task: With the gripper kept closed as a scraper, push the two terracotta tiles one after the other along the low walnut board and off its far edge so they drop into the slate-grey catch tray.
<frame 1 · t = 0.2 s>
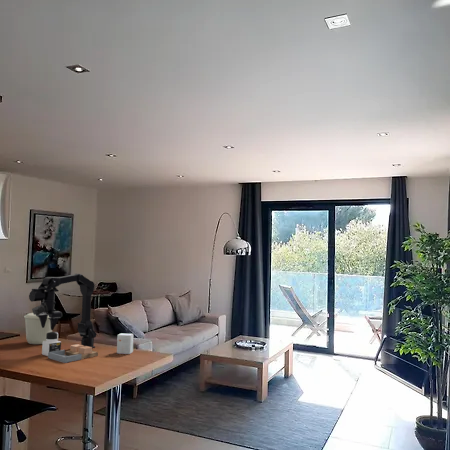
hand: (47, 328, 238), 14 cm above the table, fingers open, 9 cm apart
medicine bottle: (51, 354, 240), on the table
tile a: (76, 350, 242), point 2 cm above the table, touching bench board
canister: (38, 343, 268), on the table
small box: (124, 353, 249), on the table
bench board: (81, 355, 240), on the table
tile b: (85, 353, 237), point 2 cm above the table, touching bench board
catch tray: (64, 358, 231), on the table
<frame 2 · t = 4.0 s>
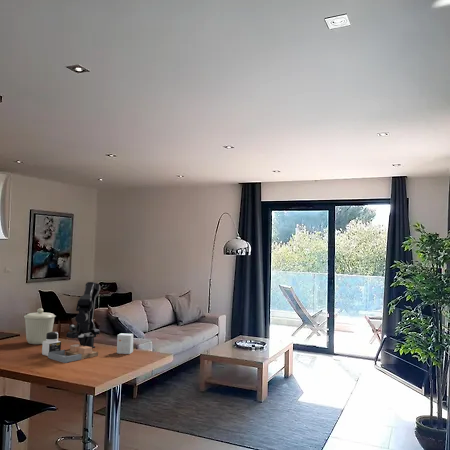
hand: (82, 348, 244), 3 cm above the table, fingers closed
tile a: (76, 350, 241), point 2 cm above the table, touching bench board, gripper
everything else where it was.
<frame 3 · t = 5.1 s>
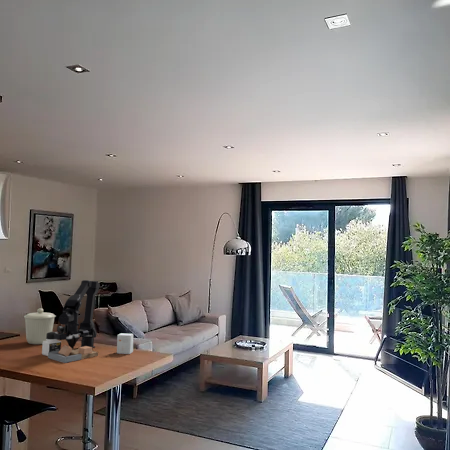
hand: (71, 350, 238), 3 cm above the table, fingers closed
tile a: (67, 352, 237), point 2 cm above the table, tilted 51°, touching catch tray, gripper
everything else where it was.
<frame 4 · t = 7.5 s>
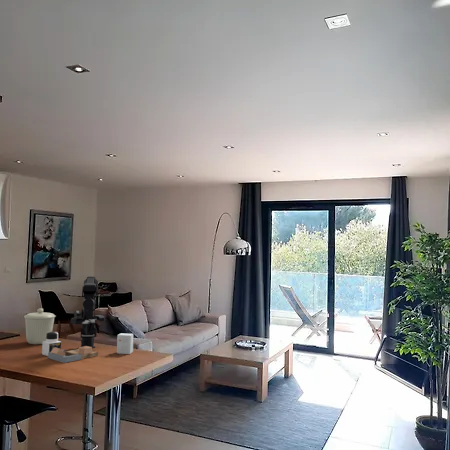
hand: (87, 335, 242), 11 cm above the table, fingers closed
tile a: (59, 350, 233), point 4 cm above the table, tilted 143°, touching catch tray
everything else where it was.
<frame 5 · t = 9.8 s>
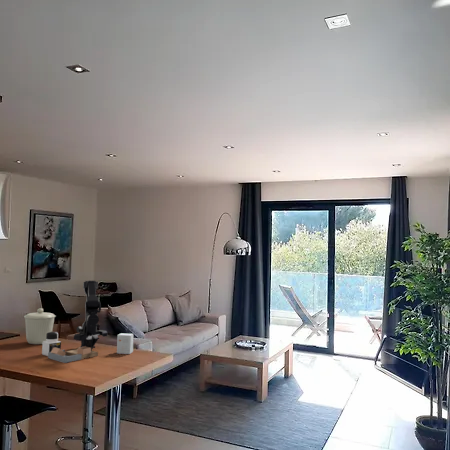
hand: (90, 350, 240), 3 cm above the table, fingers closed
tile b: (84, 353, 237), point 2 cm above the table, touching gripper
everything else where it was.
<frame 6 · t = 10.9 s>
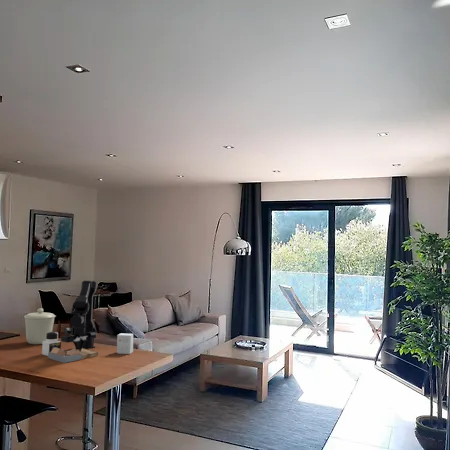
hand: (78, 353, 233), 3 cm above the table, fingers closed
tile b: (74, 356, 231), point 1 cm above the table, tilted 24°, touching catch tray, gripper
everything else where it was.
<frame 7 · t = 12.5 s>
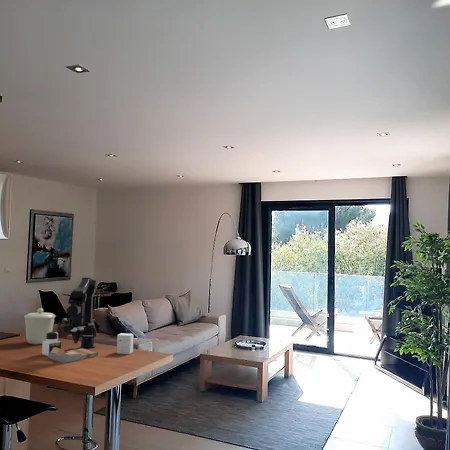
hand: (75, 343, 232), 8 cm above the table, fingers closed
tile b: (71, 359, 230), resting on catch tray
everything else where it was.
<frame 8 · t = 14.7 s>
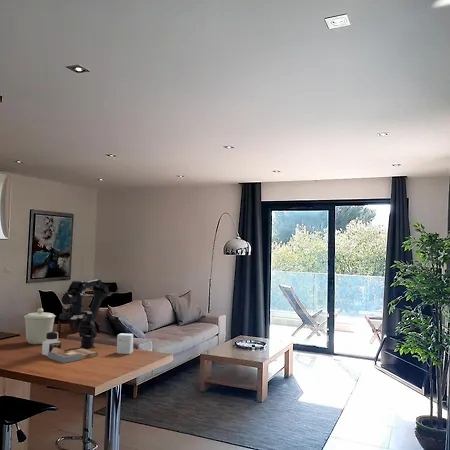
hand: (75, 330, 248), 12 cm above the table, fingers closed
nothing on the table moved.
at the end: tile a inside the target area on the catch tray (3.6 cm from its centre), point 4.2 cm above the catch tray's base; tile b inside the target area on the catch tray (3.9 cm from its centre), point 0.3 cm above the catch tray's base; tile a touching catch tray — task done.
